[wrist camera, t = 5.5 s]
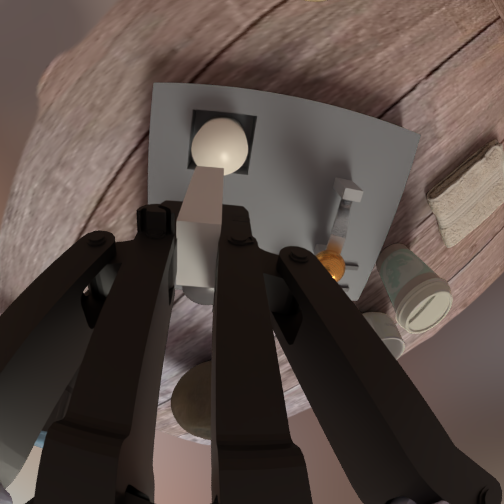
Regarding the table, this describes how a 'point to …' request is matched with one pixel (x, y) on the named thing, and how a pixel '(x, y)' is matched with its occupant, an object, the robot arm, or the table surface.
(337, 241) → the lever
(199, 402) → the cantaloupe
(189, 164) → the panel
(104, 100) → the table surface
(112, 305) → the robot arm
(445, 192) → the washcloth
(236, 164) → the cream button
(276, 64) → the table surface
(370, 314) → the teacup
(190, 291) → the dark gray button
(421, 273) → the coffee cup
